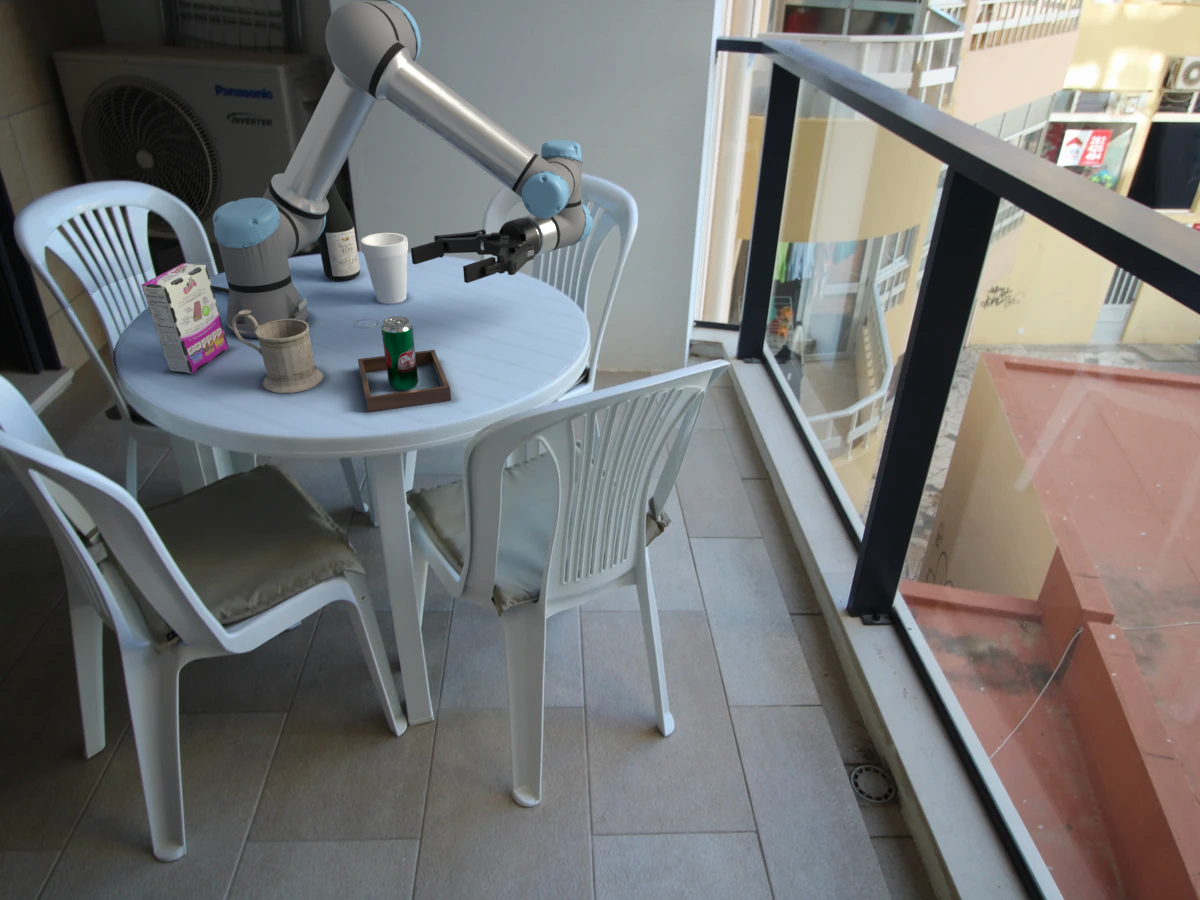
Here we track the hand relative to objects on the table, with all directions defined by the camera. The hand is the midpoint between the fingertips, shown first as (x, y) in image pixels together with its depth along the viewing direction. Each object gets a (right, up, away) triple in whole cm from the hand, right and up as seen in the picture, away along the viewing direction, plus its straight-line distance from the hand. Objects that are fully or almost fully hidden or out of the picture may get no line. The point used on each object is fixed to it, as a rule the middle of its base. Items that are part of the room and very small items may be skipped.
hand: (438, 265), depth 131 cm
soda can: (-7, -20, +4) cm, 22 cm away
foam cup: (-18, +2, +38) cm, 42 cm away
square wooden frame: (-7, -20, +4) cm, 21 cm away
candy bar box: (-46, -15, +11) cm, 49 cm away
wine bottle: (-32, +9, +49) cm, 59 cm away
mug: (-29, -19, +5) cm, 35 cm away
